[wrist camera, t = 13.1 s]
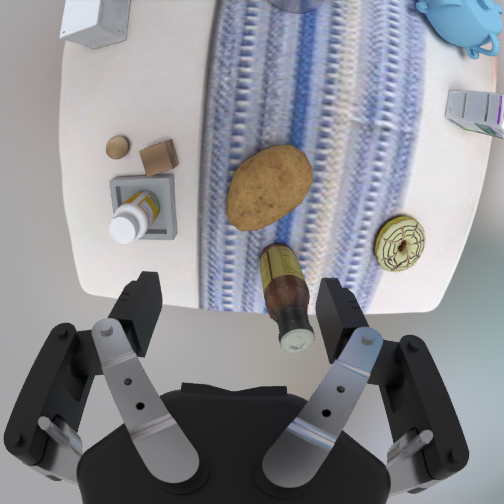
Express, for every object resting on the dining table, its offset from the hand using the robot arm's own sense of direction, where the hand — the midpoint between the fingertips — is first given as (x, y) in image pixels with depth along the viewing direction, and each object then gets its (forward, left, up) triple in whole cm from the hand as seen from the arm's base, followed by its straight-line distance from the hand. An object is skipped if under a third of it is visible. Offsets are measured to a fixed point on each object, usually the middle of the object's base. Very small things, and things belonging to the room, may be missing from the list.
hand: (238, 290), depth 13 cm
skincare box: (-27, -22, -30) cm, 46 cm away
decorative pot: (-36, +34, -30) cm, 58 cm away
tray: (+6, -16, -30) cm, 34 cm away
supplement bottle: (+6, -16, -29) cm, 34 cm away
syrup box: (-16, +37, -30) cm, 50 cm away
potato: (+2, +3, -30) cm, 30 cm away
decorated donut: (+11, +28, -30) cm, 43 cm away
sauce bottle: (+15, +6, -30) cm, 34 cm away
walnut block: (-2, -12, -30) cm, 33 cm away
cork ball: (-4, -19, -28) cm, 34 cm away
